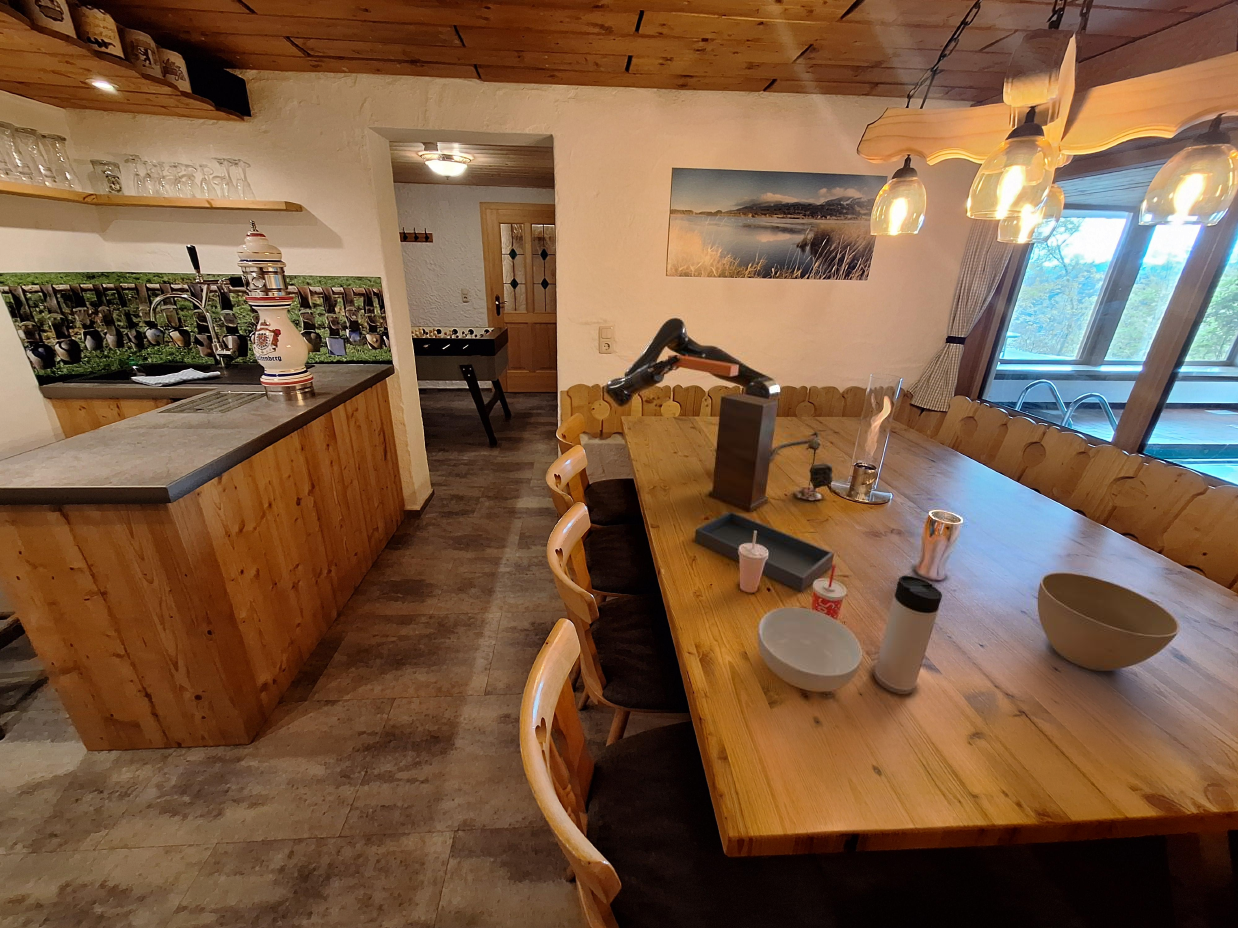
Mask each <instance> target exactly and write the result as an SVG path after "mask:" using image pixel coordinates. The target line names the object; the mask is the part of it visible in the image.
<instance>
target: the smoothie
mask: <svg viewBox="0 0 1238 928" xmlns="http://www.w3.org/2000/svg"><path fill="white" fill-rule="evenodd" d="M756 534H757V531H754V536H753V543H745V544H742V545H740V546H739V550H738V554H739V560H740V563H739V588H740V589H741V590H742V591H743V592H745V593H755V592H757V590H758V587H759V583H760V580H761V577H762V575H763V574H762V571H763V567H764V564H765V561H766V559H767V558H768V550H767V549H766V548H765V547H763V546H761V545H759V544H755V541H756Z"/></svg>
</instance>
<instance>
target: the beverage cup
mask: <svg viewBox="0 0 1238 928" xmlns="http://www.w3.org/2000/svg"><path fill="white" fill-rule="evenodd" d="M835 570H836V564H832V566H831V572H830V577H829V578H817V579H815V580H814V581H813V582H812V585H811V586H812V600H811V608H810V609H811V610H815V611H818V612H821V613H823V614H826V615H828V616H830V617H832V618H833V619H835V620H837V621H838V619H839V615H840V611H841V608H842V605H843V601H844V599H845V597H846V596H847V593H848V592H847V588H846V587H845V586H844V585H843V584H842V583H841V582H839V581H836V580H834V574H835Z"/></svg>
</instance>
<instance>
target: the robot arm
mask: <svg viewBox="0 0 1238 928" xmlns="http://www.w3.org/2000/svg"><path fill="white" fill-rule="evenodd" d="M666 348H667V349H668V350H670V351H671V352H673V353H675V354H674V355H675V356H673V357H671V358H669V359H668V358H666V359H664V360H663V359H662V360H660V361H658V360H659V359H660V356H661V355H662V353H663V351H664V350H665V349H666ZM678 355H682V356H688V357H694V358H700V359H706V360H712V361H718V362H724V363H730V364H737V365H739V367H738V375H735V376H730V377H729V376H724V375H719V374H713V373H709V374H710V375H711V376H713V377H714V378H717V379H719V380H722V381H725V382H728V383H732V384H735V385H737V386H740V387H742V388H744V391H743V394H745V395H750V396H755V397H760V398H765V399H770V400H775V401H778V400H779V398H780V396H781V386H780V384H779V383H778V381H777V380H775V378H772V377H771V376H769V375H767V374H764V373H762V372H759V371H757V370H755V369H753V368H752V367H749V366H748V365H746V363H743V362H742V361H741V360H739V359H737V358H735V357H734V356H732V355H731V354H729V353H728V352H726V351H725V350H723V349H721V348H719V347H718V346H715V345H709V344H708V345H707V344H706V345H705V344H701V343H698V342H697V341H695V340H694V339H692V337H690V336H689V335H688V332H687V328H686V324H685V323H684V321H683V320H682V319H681V318H678V317H672V318H669V319H667V320H666V321H665V322H664V323H663V324H662V325H661V327H660V328H659V330H658V331H657V333H655V335H654V337H653V338H652V339H651V341H650V343H649V344H648V345H647V347H646V348H645V350H644V351H643V352H642V353H641V354H640V356H639V357H638V358H637V359H636V360H635V361H634V363H632V365H630V367H628V369H626V371H625V372H624V376H621V377H616V378H613V379H611V380H609V381H608V382H607V383H606V384H605V388H604V391H605V393H606V395H607V396H608V397H609V398H610V399H611V400H612V401H613V402H614V404H616V406H617V407H619V408H623V407H626V406H627V405H629V404H630V402H631V401H632V399H633V397H634V396H635V395H638V394H640V393H641V392H643V391H647V390H649V389H651V388H652V387H654V386H656V385H658V384H660V383H662V382H663V381H664V379H665V375H668V374H669V373H670V372H673V371H677V370H678V369H680V368H681V367H676V366H672V365H673V364H675V363H677V362H679V357H678ZM813 435H814V436H815V438H816V439H817V440H819V433H818V432H817V431H814V433H813ZM811 440H812V438H811V439H805V440H800V441H799V440H798V441H792V442H788V443H784V444H780V445H778V446H776V447H775V448H774V449H773V451H772V452H771V458H770V461H772V459H773V458H774V456H775V455H776V452H777V451H779V450H780V449H781V448H785V447H788V446H792V445H799V444H800V445H801V444H805V443H809V442H810V441H811Z"/></svg>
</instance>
